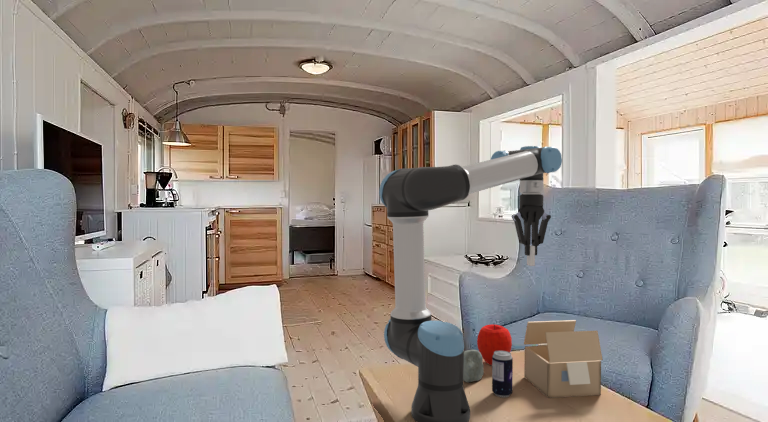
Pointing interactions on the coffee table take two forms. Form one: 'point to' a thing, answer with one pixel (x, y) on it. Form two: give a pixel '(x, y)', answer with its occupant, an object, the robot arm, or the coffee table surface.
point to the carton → (558, 375)
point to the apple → (493, 341)
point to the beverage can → (502, 373)
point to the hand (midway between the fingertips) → (530, 265)
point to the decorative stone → (472, 366)
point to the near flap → (574, 352)
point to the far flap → (546, 330)
